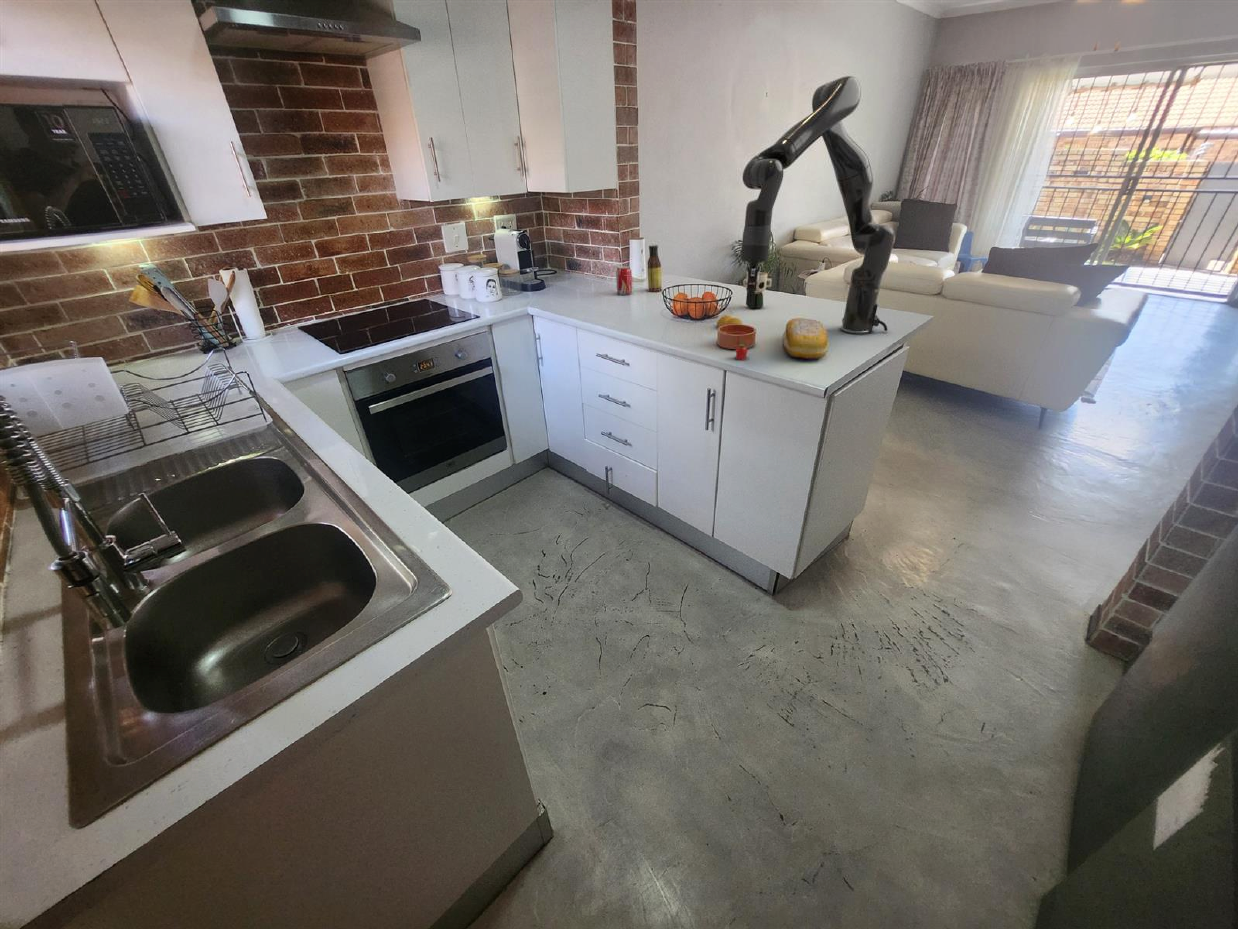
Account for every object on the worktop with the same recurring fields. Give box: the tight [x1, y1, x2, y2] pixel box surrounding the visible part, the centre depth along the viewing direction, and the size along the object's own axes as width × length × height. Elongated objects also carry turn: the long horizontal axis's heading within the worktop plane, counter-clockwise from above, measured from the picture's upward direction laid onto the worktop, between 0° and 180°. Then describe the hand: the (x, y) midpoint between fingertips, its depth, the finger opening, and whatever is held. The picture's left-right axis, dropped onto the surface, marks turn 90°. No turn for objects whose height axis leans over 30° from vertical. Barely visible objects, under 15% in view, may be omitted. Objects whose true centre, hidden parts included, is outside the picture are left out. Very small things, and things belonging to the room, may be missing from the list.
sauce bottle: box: [647, 244, 663, 293], centre depth 233 cm, size 7×6×20 cm
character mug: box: [742, 271, 773, 309], centre depth 201 cm, size 11×7×13 cm, turn 79°
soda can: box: [615, 265, 633, 296], centre depth 232 cm, size 7×7×12 cm
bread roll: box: [716, 315, 743, 328], centre depth 183 cm, size 8×9×4 cm
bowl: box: [716, 323, 757, 350], centre depth 166 cm, size 12×12×5 cm
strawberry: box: [735, 344, 748, 361], centre depth 155 cm, size 3×3×4 cm
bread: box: [782, 317, 829, 360], centre depth 159 cm, size 13×26×8 cm, turn 169°
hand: (749, 301), depth 149 cm, fingers open, 8 cm apart
